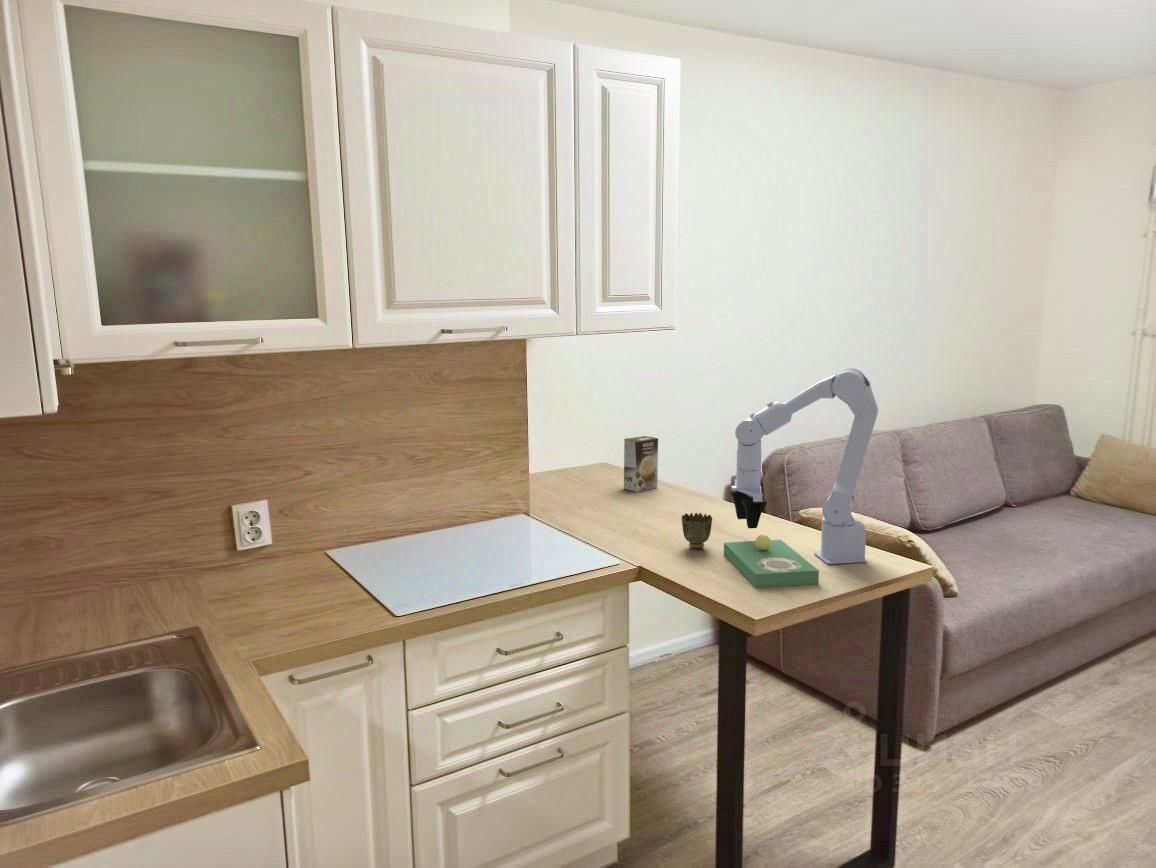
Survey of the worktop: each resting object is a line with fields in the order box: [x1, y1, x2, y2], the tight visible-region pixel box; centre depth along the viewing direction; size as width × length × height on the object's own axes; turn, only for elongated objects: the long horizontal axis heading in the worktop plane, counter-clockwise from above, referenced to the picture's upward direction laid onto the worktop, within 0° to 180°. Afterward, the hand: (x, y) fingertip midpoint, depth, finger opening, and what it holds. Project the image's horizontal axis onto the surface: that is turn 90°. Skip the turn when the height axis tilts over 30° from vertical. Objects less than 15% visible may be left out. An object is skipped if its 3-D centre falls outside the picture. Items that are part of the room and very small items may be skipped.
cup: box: [681, 512, 713, 550], centre depth 202 cm, size 8×7×8 cm
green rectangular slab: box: [723, 539, 820, 589], centre depth 187 cm, size 14×22×3 cm, turn 8°
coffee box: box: [623, 435, 659, 493], centre depth 260 cm, size 9×6×16 cm
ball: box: [754, 534, 772, 551], centre depth 191 cm, size 4×4×4 cm
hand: (747, 523), depth 201 cm, fingers open, 7 cm apart
